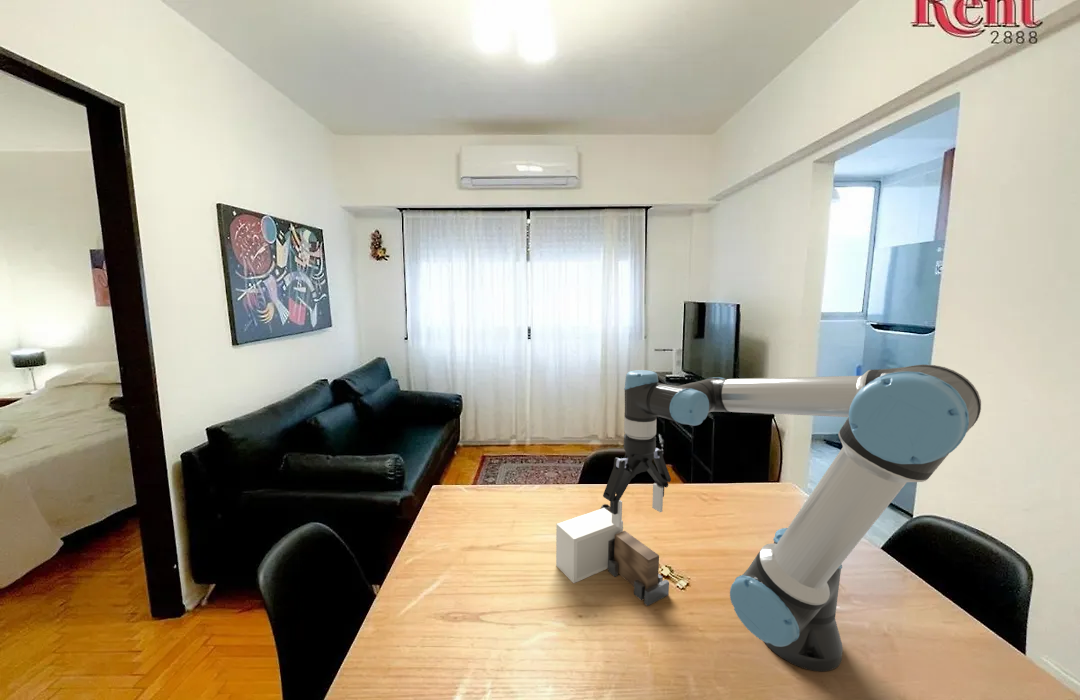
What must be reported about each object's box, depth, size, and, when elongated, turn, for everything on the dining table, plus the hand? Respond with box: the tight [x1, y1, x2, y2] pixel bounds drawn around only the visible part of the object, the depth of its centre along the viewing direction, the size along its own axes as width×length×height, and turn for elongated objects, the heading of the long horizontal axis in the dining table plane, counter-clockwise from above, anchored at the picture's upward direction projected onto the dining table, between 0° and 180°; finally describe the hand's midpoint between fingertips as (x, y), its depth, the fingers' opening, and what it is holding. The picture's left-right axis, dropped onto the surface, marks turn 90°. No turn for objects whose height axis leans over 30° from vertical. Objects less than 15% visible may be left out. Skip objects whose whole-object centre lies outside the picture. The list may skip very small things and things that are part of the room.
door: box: [614, 530, 660, 597], centre depth 105 cm, size 12×4×10 cm, turn 31°
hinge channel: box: [607, 539, 670, 607], centre depth 104 cm, size 15×7×8 cm, turn 31°
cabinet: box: [555, 508, 624, 584], centre depth 111 cm, size 8×16×12 cm, turn 121°
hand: (637, 517), depth 103 cm, fingers open, 13 cm apart
